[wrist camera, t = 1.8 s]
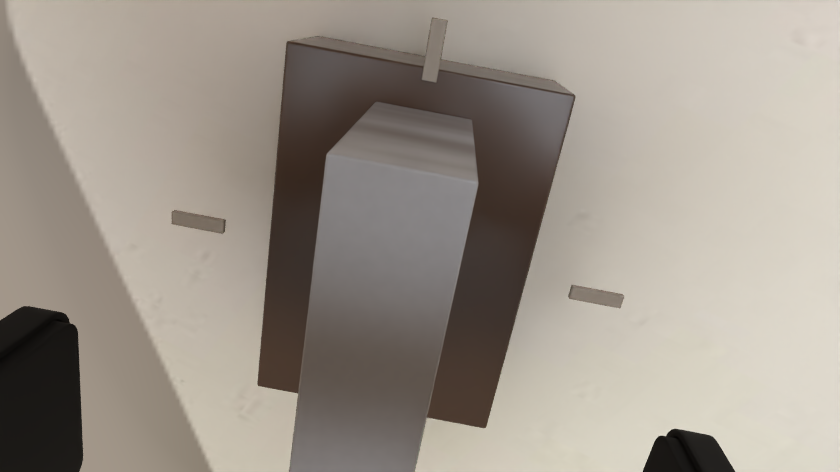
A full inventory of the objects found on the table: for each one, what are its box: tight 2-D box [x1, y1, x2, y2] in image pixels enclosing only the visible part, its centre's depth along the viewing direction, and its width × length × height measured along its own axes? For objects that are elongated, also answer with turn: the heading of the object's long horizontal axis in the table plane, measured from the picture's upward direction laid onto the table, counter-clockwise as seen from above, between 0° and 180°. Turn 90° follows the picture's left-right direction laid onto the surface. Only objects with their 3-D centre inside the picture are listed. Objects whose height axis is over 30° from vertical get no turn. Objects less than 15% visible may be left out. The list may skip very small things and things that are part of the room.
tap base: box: [172, 18, 624, 428], centre depth 17 cm, size 12×12×3 cm
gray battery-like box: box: [289, 102, 479, 472], centre depth 13 cm, size 8×2×6 cm, turn 170°
